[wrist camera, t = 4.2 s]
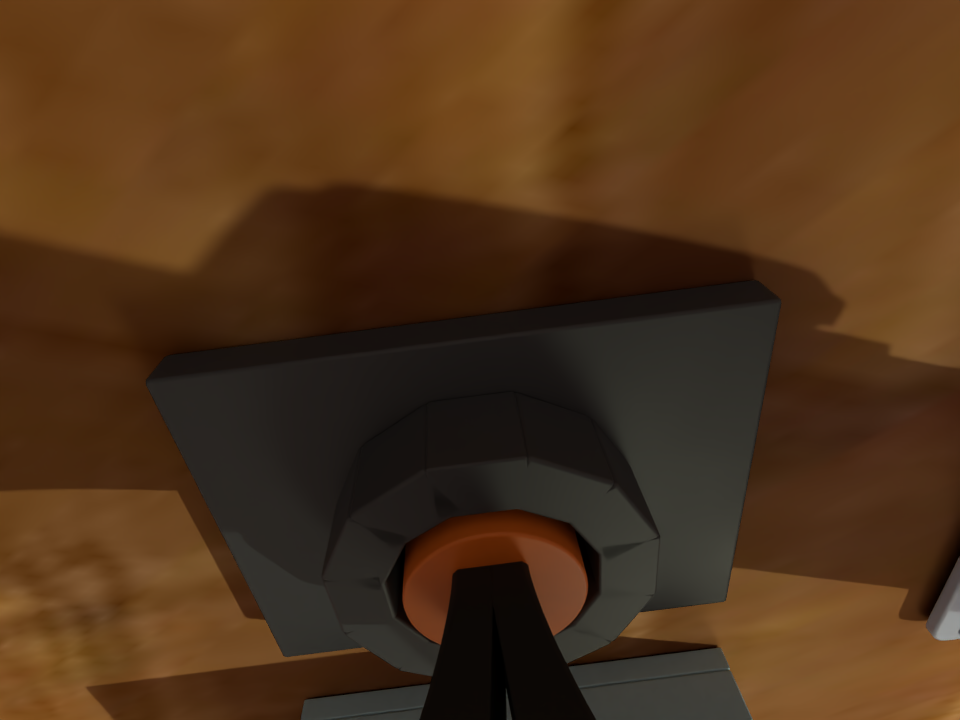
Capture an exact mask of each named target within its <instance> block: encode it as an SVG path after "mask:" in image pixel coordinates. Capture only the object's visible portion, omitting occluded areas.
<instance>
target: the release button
mask: <svg viewBox="0 0 960 720" xmlns="http://www.w3.org/2000/svg"><path fill="white" fill-rule="evenodd" d="M519 561H523V562H524V563H526V564H528V567H529V571H530V575H531V578H532V582H533V585H534V588H535V591H536V594H537V597H538V600H539V602H540V605H541V607H542V610H543V612H544V615H545V617H546V620H547V622H548V624H549V627H550V629H551V631H552V634H553V636H554V635H556V634H557V633H559V632H560V631H562V630H563V629H564V628H565V627H567V626H568V625H569V624H570V623H571V622H572V621H573V620H574V619H575V618H576V617H577V615H578V614H579V612H580V611H581V609H582V607H583V605H584V603H585V600H586V597H587V592H588V579H587V574H586V570H585V567H584V563H583V559H582V555H581V552H580V548H579V544H578V540H577V537H576V533H575V529H574V528H573V527H572V526H571V525H570V524H569V523H566V522H563V521H559V520H555V519H552V518H548V517H544V516H541V515H537V514H533V513H530V512H526V511H522V510H519V509H513V510H506V511H498V512H490V513H482V514H474V515H466V516H458V517H451V518H449V519H447V520H446V521H444V522H442V523H440V524H439V525H437V526H435V527H434V528H432V529H430V530H428V531H427V532H425V533H423V534H422V535H420V536H418V537H416V538H415V539H413V540H411V541H409V542H408V543H406V546H405V562H404V578H403V595H402V601H403V606H404V610H405V612H406V615H407V617H408V619H409V620H410V622H411V623H412V625H413V626H414V627H415V628H416V629H417V630H418V631H419V632H420V633H421V634H423V635H424V636H425V637H427V638H429V639H430V640H432V641H434V642H436V643H438V644H440V645H441V641H442V636H443V632H444V627H445V623H446V618H447V613H448V607H449V601H450V594H451V587H452V575H453V573H454V572H455V571H457V570H458V569H464V568H472V567H480V566H488V565H496V564H504V563H512V562H519Z"/></svg>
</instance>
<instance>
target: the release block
mask: <svg viewBox="0 0 960 720" xmlns="http://www.w3.org/2000/svg"><path fill="white" fill-rule="evenodd" d="M780 308H781V299H780V298H779V297H778V296H776V295H775V294H774V293H773V292H771V291H770V290H769V289H768V288H766V287H765V286H764V285H763V284H761V283H760V282H759V281H756V280H753V281H745V282H737V283H729V284H722V285H714V286H706V287H698V288H690V289H683V290H675V291H667V292H659V293H652V294H644V295H636V296H628V297H620V298H613V299H605V300H597V301H589V302H581V303H574V304H566V305H558V306H550V307H542V308H535V309H527V310H519V311H511V312H503V313H496V314H488V315H480V316H472V317H464V318H457V319H449V320H441V321H433V322H426V323H418V324H410V325H402V326H394V327H387V328H379V329H371V330H363V331H355V332H348V333H340V334H332V335H324V336H316V337H309V338H301V339H293V340H285V341H277V342H270V343H262V344H254V345H246V346H238V347H231V348H223V349H215V350H207V351H200V352H192V353H184V354H176V355H169V356H166V357H164V359H163V360H162V361H161V362H160V363H159V365H158V366H157V367H156V368H155V370H154V371H153V372H152V373H151V374H150V376H149V377H148V378H147V379H146V386H147V388H148V390H149V392H150V393H151V395H152V397H153V399H154V401H155V403H156V405H157V407H158V409H159V411H160V413H161V415H162V417H163V419H164V421H165V423H166V425H167V427H168V429H169V431H170V433H171V435H172V437H173V439H174V441H175V443H176V445H177V447H178V449H179V451H180V453H181V455H182V456H183V458H184V460H185V462H186V464H187V466H188V468H189V470H190V472H191V474H192V476H193V478H194V480H195V482H196V484H197V486H198V488H199V490H200V492H201V494H202V496H203V498H204V500H205V502H206V504H207V506H208V508H209V510H210V512H211V514H212V516H213V518H214V519H215V521H216V523H217V525H218V527H219V529H220V531H221V533H222V535H223V537H224V539H225V541H226V543H227V545H228V547H229V549H230V551H231V553H232V555H233V557H234V559H235V561H236V563H237V565H238V567H239V569H240V571H241V573H242V575H243V577H244V579H245V581H246V583H247V584H248V586H249V588H250V590H251V592H252V594H253V596H254V598H255V600H256V602H257V604H258V606H259V608H260V610H261V612H262V614H263V616H264V618H265V620H266V622H267V624H268V626H269V628H270V630H271V632H272V634H273V636H274V638H275V640H276V642H277V644H278V646H279V647H280V649H281V651H282V653H283V655H284V656H285V657H290V656H298V655H305V654H313V653H321V652H329V651H337V650H345V649H353V648H361V647H364V648H366V649H367V650H369V651H370V652H372V653H373V654H375V655H377V656H378V657H380V658H381V659H383V660H384V661H386V662H387V663H389V664H390V665H392V666H394V667H395V668H399V670H400V671H405V672H411V673H416V674H422V675H427V676H433V672H434V668H435V664H436V661H437V657H438V653H439V649H440V644H438V643H436V642H434V641H432V640H430V639H429V638H427V637H425V636H424V635H423V634H421V633H420V632H419V631H418V630H417V629H416V628H415V627H414V626H413V625H412V623H411V622H410V620H409V619H408V617H407V615H406V612H405V610H404V606H403V601H402V595H403V578H404V562H405V546H406V543H408V542H409V541H411V540H413V539H415V538H416V537H418V536H420V535H422V534H423V533H425V532H427V531H428V530H430V529H432V528H434V527H435V526H437V525H439V524H440V523H442V522H444V521H446V520H447V519H449V518H451V517H458V516H466V515H474V514H482V513H490V512H498V511H506V510H513V509H519V510H522V511H526V512H530V513H533V514H537V515H541V516H544V517H548V518H552V519H555V520H559V521H563V522H566V523H569V524H570V525H571V526H572V527H573V528H574V529H575V533H576V537H577V540H578V544H579V548H580V552H581V555H582V559H583V563H584V567H585V570H586V574H587V579H588V592H587V597H586V600H585V603H584V605H583V607H582V609H581V611H580V612H579V614H578V615H577V617H576V618H575V619H574V620H573V621H572V622H571V623H570V624H569V625H568V626H567V627H565V628H564V629H563V630H562V631H560V632H559V633H557V634H556V635H554V638H555V640H556V643H557V645H558V647H559V649H560V651H561V653H562V655H563V657H564V659H565V661H566V663H569V662H571V661H573V660H576V659H578V658H580V657H582V656H584V655H586V654H589V653H591V652H593V651H595V650H597V649H599V648H601V647H604V646H606V645H608V644H610V643H611V641H614V640H615V639H616V638H617V637H618V636H619V635H620V633H621V632H622V631H623V630H624V629H625V628H626V627H627V626H628V624H629V623H630V622H631V621H632V620H633V619H634V618H635V617H636V615H637V614H638V613H639V612H646V611H654V610H662V609H670V608H678V607H685V606H693V605H701V604H709V603H717V602H724V601H725V600H726V597H727V592H728V586H729V581H730V575H731V570H732V565H733V559H734V554H735V549H736V543H737V538H738V533H739V527H740V522H741V517H742V511H743V506H744V500H745V495H746V490H747V484H748V479H749V474H750V468H751V463H752V458H753V452H754V447H755V442H756V436H757V431H758V425H759V420H760V415H761V409H762V404H763V399H764V393H765V388H766V383H767V377H768V372H769V366H770V361H771V356H772V350H773V345H774V340H775V334H776V329H777V324H778V318H779V313H780Z"/></svg>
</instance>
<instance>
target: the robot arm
mask: <svg viewBox="0 0 960 720" xmlns="http://www.w3.org/2000/svg"><path fill="white" fill-rule="evenodd" d="M926 628H927V629H928V631H929V632H930V633H931V634H932V636H933V637H934V638H935V639H938V640H953V639H960V556H959V558H958V560H957V562H956V564H955V566H954V568H953V570H952V572H951V574H950V576H949V578H948V580H947V582H946V584H945V586H944V588H943V590H942V592H941V594H940V596H939V598H938V600H937V602H936V604H935V606H934V608H933V610H932V612H931V614H930V616H929V618H928V620H927V623H926ZM506 690H507V695H508V701H509V706H510V711H511V717H512V720H596V718H595V716H594V715H593V713H592V711H591V709H590V707H589V706H588V704H587V702H586V700H585V698H584V696H583V695H582V693H581V691H580V689H579V687H578V685H577V683H576V681H575V679H574V677H573V675H572V673H571V671H570V669H569V667H568V665H567V663H566V661H565V659H564V657H563V655H562V653H561V651H560V649H559V647H558V645H557V643H556V640H555V638H554V636H553V634H552V631H551V629H550V627H549V624H548V622H547V620H546V617H545V615H544V612H543V610H542V607H541V605H540V602H539V600H538V597H537V594H536V591H535V588H534V585H533V582H532V578H531V575H530V571H529V567H528V564H526V563H524V562H523V561H519V562H512V563H504V564H496V565H488V566H480V567H472V568H464V569H458V570H457V571H455V572H454V573H453V575H452V587H451V594H450V601H449V607H448V613H447V618H446V623H445V627H444V632H443V636H442V641H441V645H440V649H439V653H438V657H437V661H436V664H435V668H434V672H433V676H432V679H431V683H430V687H429V690H428V694H427V697H426V701H425V704H424V707H423V710H422V713H421V716H420V719H419V720H507V707H506Z"/></svg>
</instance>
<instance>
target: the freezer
mask: <svg viewBox="0 0 960 720" xmlns="http://www.w3.org/2000/svg"><path fill="white" fill-rule="evenodd" d="M569 669H570V671H571V673H572V675H573V677H574V679H575V681H576V683H577V685H578V687H579V689H580V691H581V693H582V695H583V696H584V698H585V700H586V702H587V704H588V706H589V707H590V709H591V711H592V713H593V715H594V716H595V718H596V720H753V719H752V717H751V715H750V712H749V710H748V708H747V706H746V704H745V701H744V699H743V697H742V695H741V692H740V690H739V688H738V686H737V684H736V681H735V679H734V677H733V675H732V673H731V671H730V667H729V665H728V663H727V661H726V658H725V656H724V654H723V652H722V649H721V648H712V649H704V650H696V651H688V652H680V653H672V654H665V655H657V656H649V657H641V658H633V659H625V660H617V661H609V662H601V663H593V664H585V665H577V666H569ZM429 687H430V684H426V685H419V686H411V687H403V688H395V689H387V690H379V691H371V692H363V693H355V694H347V695H339V696H331V697H323V698H315V699H307V700H305V701H304V705H303V710H302V715H301V720H419V719H420V716H421V713H422V710H423V707H424V704H425V701H426V697H427V694H428V690H429ZM506 707H507V720H512V717H511V711H510V706H509V701H508V695H507V690H506Z"/></svg>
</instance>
